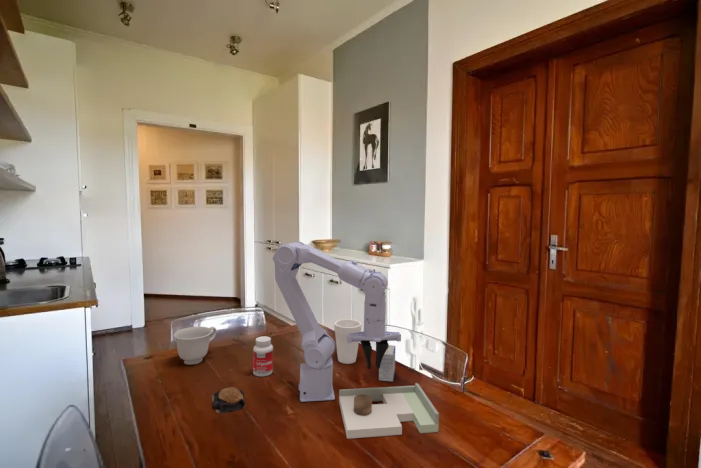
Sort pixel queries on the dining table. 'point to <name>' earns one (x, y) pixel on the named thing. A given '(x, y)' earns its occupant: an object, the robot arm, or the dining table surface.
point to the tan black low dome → (228, 400)
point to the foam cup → (345, 349)
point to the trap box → (388, 411)
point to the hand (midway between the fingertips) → (373, 367)
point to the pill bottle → (263, 357)
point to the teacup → (193, 343)
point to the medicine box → (388, 365)
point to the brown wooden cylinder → (362, 405)
